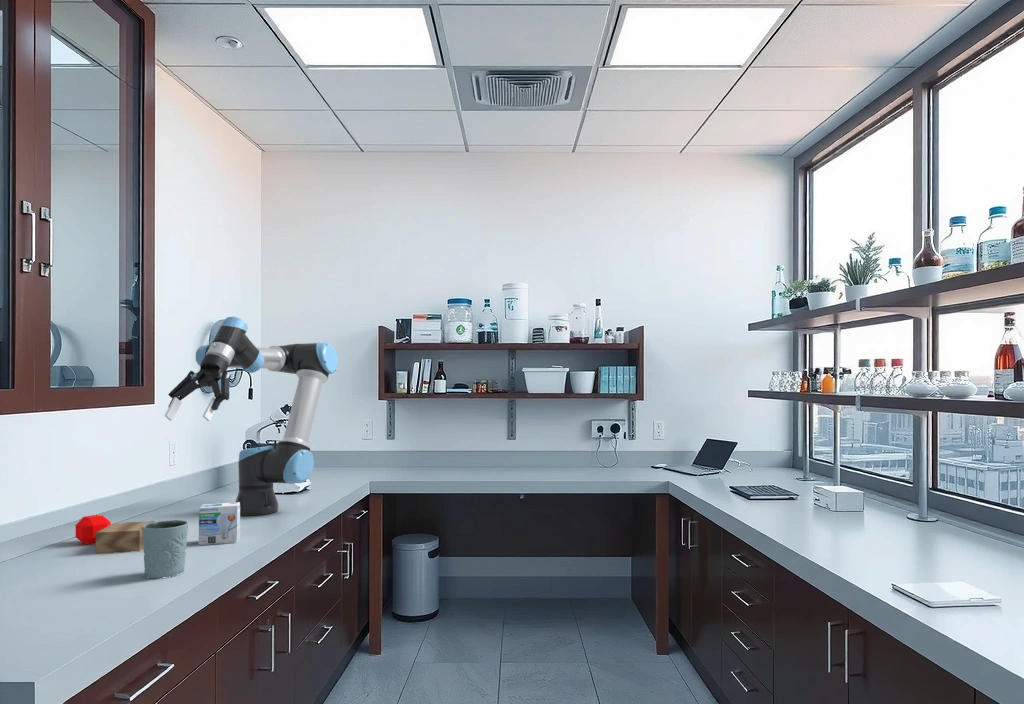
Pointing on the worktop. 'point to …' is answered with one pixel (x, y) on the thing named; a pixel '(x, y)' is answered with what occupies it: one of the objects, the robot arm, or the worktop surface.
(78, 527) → the ball
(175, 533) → the grey green embossed cup
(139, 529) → the walnut block
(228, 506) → the light bulb box
